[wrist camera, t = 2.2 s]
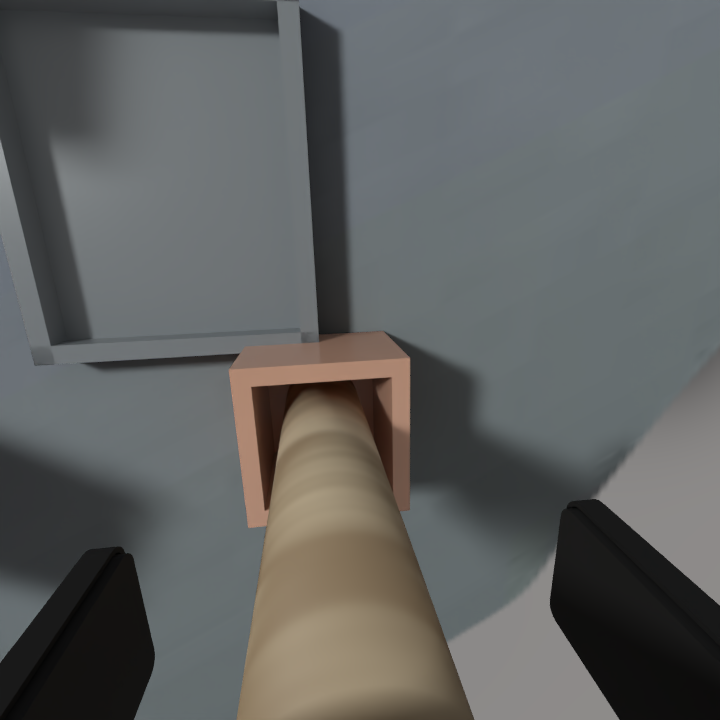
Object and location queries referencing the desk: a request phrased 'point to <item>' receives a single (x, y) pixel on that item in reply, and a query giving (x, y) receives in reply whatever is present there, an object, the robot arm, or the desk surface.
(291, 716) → the dowel
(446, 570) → the desk surface
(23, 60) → the tray
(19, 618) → the desk surface
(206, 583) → the desk surface
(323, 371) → the pink open box
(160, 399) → the desk surface
